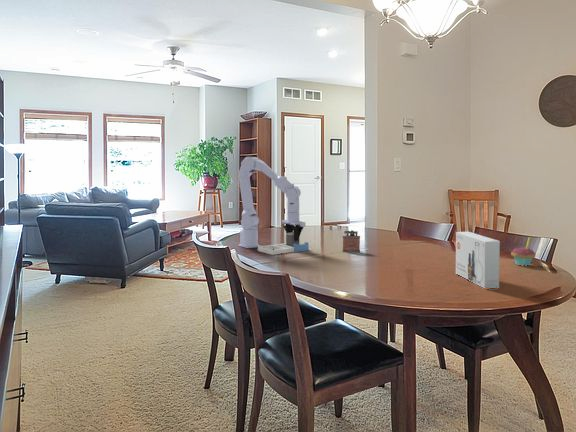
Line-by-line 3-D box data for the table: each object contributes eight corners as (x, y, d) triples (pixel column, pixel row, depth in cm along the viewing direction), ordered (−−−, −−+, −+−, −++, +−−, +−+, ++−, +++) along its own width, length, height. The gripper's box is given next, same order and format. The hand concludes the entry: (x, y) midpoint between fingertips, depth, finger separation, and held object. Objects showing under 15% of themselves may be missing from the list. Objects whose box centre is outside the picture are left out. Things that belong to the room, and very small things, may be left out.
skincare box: (453, 274, 164) (455, 231, 163) (468, 274, 165) (469, 231, 163) (483, 290, 144) (485, 240, 142) (499, 289, 144) (502, 240, 142)
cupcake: (532, 263, 182) (534, 234, 181) (536, 268, 174) (538, 237, 173) (509, 262, 185) (510, 233, 184) (512, 266, 177) (513, 236, 176)
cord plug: (286, 245, 216) (286, 232, 215) (293, 244, 219) (293, 231, 219) (291, 246, 213) (291, 233, 212) (299, 245, 216) (299, 232, 216)
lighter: (359, 251, 210) (360, 230, 209) (360, 252, 207) (360, 231, 206) (342, 251, 211) (342, 229, 210) (342, 252, 208) (342, 230, 207)
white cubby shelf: (257, 250, 212) (257, 243, 211) (293, 246, 224) (293, 239, 224) (273, 255, 202) (273, 247, 201) (309, 249, 214) (309, 242, 214)
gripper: (277, 211, 217) (277, 239, 219) (297, 213, 207) (297, 243, 208) (287, 210, 222) (287, 237, 223) (308, 212, 211) (308, 241, 213)
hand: (293, 240), depth 216 cm, fingers closed on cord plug, 4 cm apart
